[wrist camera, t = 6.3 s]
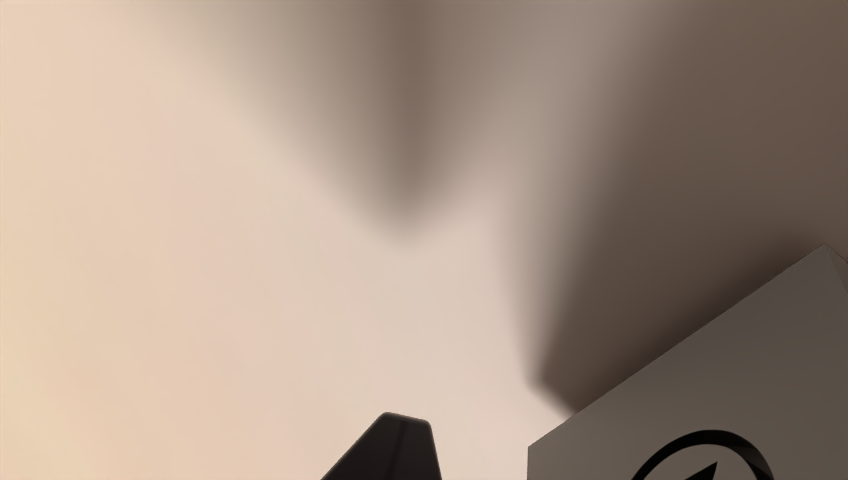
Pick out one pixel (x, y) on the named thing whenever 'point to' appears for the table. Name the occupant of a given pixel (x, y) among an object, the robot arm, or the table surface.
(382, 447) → the robot arm
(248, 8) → the table surface
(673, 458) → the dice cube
